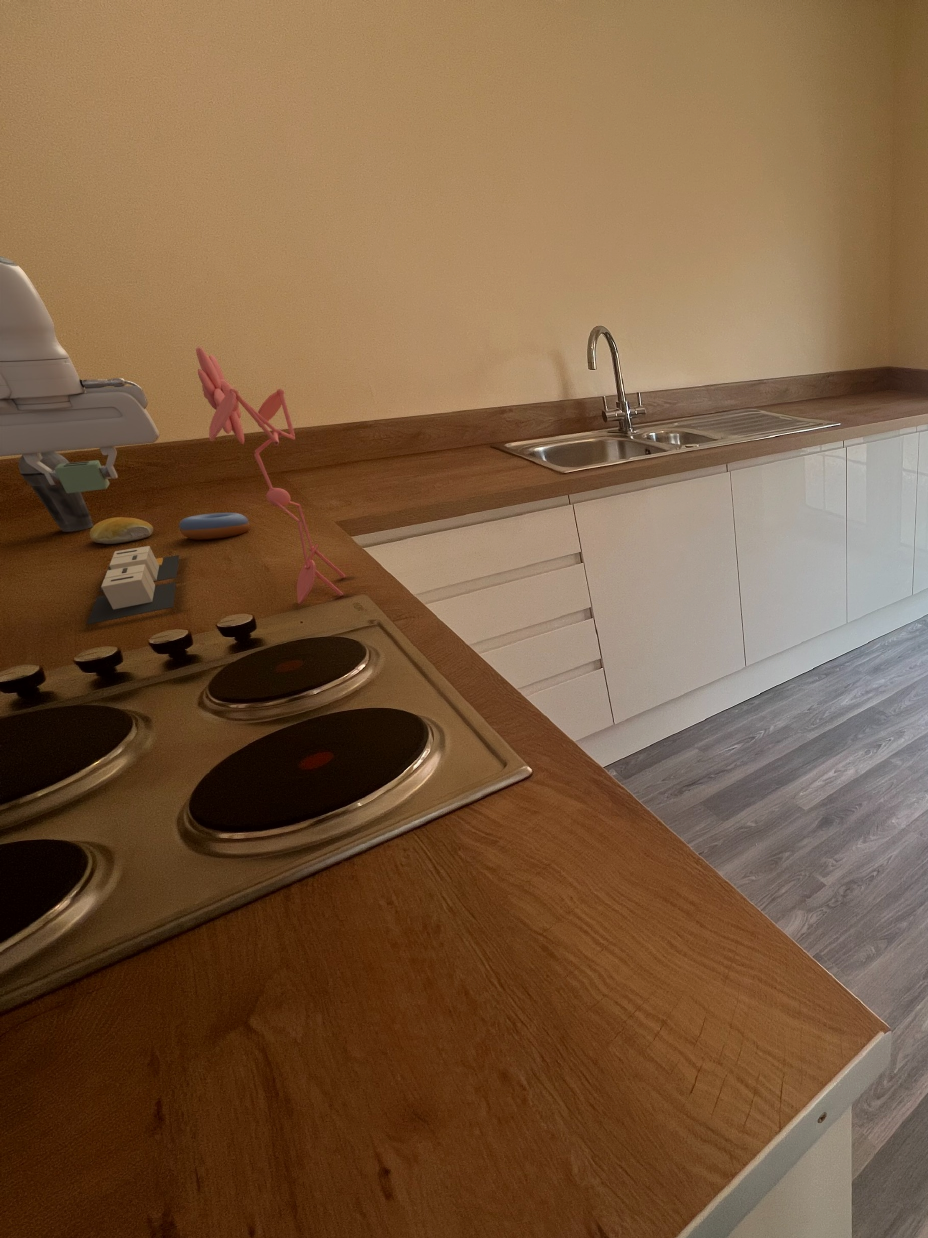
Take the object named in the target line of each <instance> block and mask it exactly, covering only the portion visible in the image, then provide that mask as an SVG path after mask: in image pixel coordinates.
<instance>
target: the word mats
mask: <svg viewBox="0 0 928 1238" xmlns="http://www.w3.org/2000/svg"><path fill="white" fill-rule="evenodd" d="M179 560H180V554H176V555H171V556H165V557H158V558H157V557H156V561H157V563H158V565H159V570H158V575H157V580H156V581H153V582H154V583H156V582H161V581H166V580H172V579H177V576H178V569H179V562H180V561H179ZM108 570H112V569H111V568H110V566H108V567H107V571H108ZM107 571H106V572H107ZM103 578H104V579H105V577H103ZM104 579H103V580H104ZM176 584H177V581H174V582H167V583H163V584H157V585H155V589H154V595H153V600H152V602H150V603H144V604H139V605H134V606H129V607H124V608H119V609H113V608H112V606H111V604H110V602H109V600H108V599H107V597H106V595H105V594H104V595H98V596H97V597H96V598H95V601H94V604H93V606H92V609H91V612H90V614H89V617H88V619H87V622H86V624H85V625H91V624H97V623H101V622H108V621H111V620H117V619H122V618H126V617H132V616H138V615H142V614H146V613H147V614H148V613H152V612H156V611H162V610H165V609H166V610H167V609H171V608H174V601H175V594H176V587H177V586H176ZM98 592H99V593H100V592H101V593H102V592H104V591H103V589H102V587H101V586H100V589H99V591H98Z"/></svg>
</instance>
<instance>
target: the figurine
mask: <svg viewBox="0 0 928 1238" xmlns="http://www.w3.org/2000/svg"><path fill="white" fill-rule="evenodd" d="M195 351H196V356H197V360H198V364H199V366H200V368H197V375H198V379H199V381H200V382H201V388H202V390H201V391H202V392H203V397H204V398H205V399H206V400H207V402H208V404H209V405H210V406H211V408H212V409H214V410H215V411H214V413H213V416H212V418H211V421H210V425H209V430H208V440H209V441H211V442H213V441H214V440H215V439H216V438H217V436H218V435H219V433H220V432H221V430H223V431H224V433H226V434H227V435H229V434H231V432H232V433H233V434H234V436H235V437H236V439H237V440H238V442H239V443H240V444H241V445H245V440H246V439H245V435H244V433H245V432H244V428H243V426H242V422H241V420H240V418H241V417H242V412H241V409H240V405H241V406H242V407H243V408H244V410H245V411H246V412H247V413H248V414H249V415H250V417H251V418H252V419H253V420H254V421H255V422H256V423H257V425H258V427H259V428H261V430H262V431H263V432H264V433H265V434H266V436H267V437H268V439H267V440H266V441H265V442H263V443H261V445H260V446H258V447H257V448H256V449H255V450H254V453H253V457H254V458H255V460H256V462H257V464H258V467H259V468H260V471H261V473H262V475H263V477H264V480H265V482H266V484H267V486H268V488H269V489H268V491H267V492H266V496H265V497H266V500H267V502H268V503H269V504H271V505H272V506H274V507H277V508H280V509H282V510H283V511H284V512H285V513H287V514H288V515H289V516H290V517H291V518H292V519H294V520H295V521H296V522H297V525H298V531H299V537H300V542H301V548H302V551H303V552H302V554H303V558H304V564H303V566H302V568H301V569H300V572H299V574H298V576H297V577H298V578H297V581H296V598H297V603H298V604H303V603H304V602H305V600H306V599H307V598H308V595H309V594H310V593H311V591H312V588H313V587H314V584H315V579H316V576H317V577H318V578H319V580H321V581H322V582H323V583H324V584H326V586H328V587H329V589H331V590H332V591H334V592H335V593H336V594H337V595H338V596H339V597H342V596H343V595H344V593H343V592H342V591H341V590H340V589H339V588H337V587H336V586H335V585H334V584H333V583H332V582H331V581H330V580H328V579H327V578H326V577H325V576H324V575H323V574H321V572H319V571H318V570H317V567H316V566H317V564H316V563H315V561H314V560H313V559H314V558H315V555H316V556H317V557H319V558H320V559H321V560H322V561H323V562H324V563H325V564H327V566H329V567H330V569H332V570H333V571H334V572H336V573H337V574H338V576H340V578H342V579H344V578H346V577H347V575H346V574H344V572H343V571H341V570H340V569H339V568H338V567H337V566H336V565H334V564H333V562H331V561H330V560H329V559H328V558H326V556H325V555H324V554H322V553H321V551H319V550H318V548H319V544H318V543H315V545H313V543H312V540H311V536H310V532H309V529H308V525H307V523H306V520H305V516H304V512H303V509H302V506H301V504H300V503H297V502H295V501H291V500H292V499H291V495H290V493H289V492H288V491H287V490H285V489H283V488H281V487H273V485H272V482H271V480H270V478H269V475H268V472H267V470H266V468H265V465H264V463H263V460H262V458H261V454H260V453H261V452H262V451H264V449H266V448H267V447H268V446H269V445H270V444H271V443H273V444H274V445H275V446H279V444H280V441H279V438H282V437H285V438H288V439H289V440H293V441H294V440H296V434H295V430H294V427H293V423H292V420H291V417H290V412H289V409H288V405H287V402H286V399H285V391H284V390H283V388H282V389H281V388H278V389H276V391H275V392H273V393H272V394H270V395H269V396H268V397H267V398H266V399H265V401H264V402H263V403H262V404H261V406H260V407H259V409H258V411H257V410H255V409H254V408H253V407H252V406H251V404H249V403H248V402H247V401H245V400H244V399H243V398H242V397H241V395H240V394H239V390H237V389H236V388H233V387H232V385H231V384H230V383H229V382H228V381H227V380H226V379H225V376H224V373H223V371H222V368H221V366H220V364H219V363H220V362H219V361H218V359H217V358H216V357H215V355H213V354H210V355H208V354H207V353H206V352H205V350H204V349H203V347H200V346H197V347H196V348H195ZM239 404H240V405H239ZM280 408H282V411H283V414H284V417H285V421H286V424H287V428H288V433H287V432H285V431H283V430H281V429H279V428H276V427H275V426H273V424H272V423H270V420H271V419H272V418H274V416H275V415H276V414H277V413H278V411H279V410H280ZM267 427H268V428H269V429H270V430H271V431H272V432H271V431H270V430H269V429H268V428H267ZM289 504H290V505H293V506H296V507H297V509H298V512H299V515H300V519H301V520H300V519H299V518H298V517H297V516H295V514H293V513H292V512H290V511H289V510H288V509H287V508H286V507H285V506H287V505H289ZM303 528H304V529H303ZM304 532H305V535H306V538H307V541H308V544H309V547H310V548H309V549H308V551H309V552H310V554H309V556H308V553H307V547H306V542H305V537H304ZM351 565H353V563H346V564H340V566H351Z"/></svg>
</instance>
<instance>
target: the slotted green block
mask: <svg viewBox="0 0 928 1238" xmlns="http://www.w3.org/2000/svg"><path fill="white" fill-rule="evenodd" d="M100 466H102V464H101V463H100V460H99V459H97V460H96V459H95V460H85V461H75V462H69V463H64V464H59V465H58V466H57V467H56V468H55V469H54V470H55V472H56V473H57V475H58V477H59V479H60V481H61V483H62V485H63V487H64V489H65V491H66V493H76V492H81V493H84V492H92V491H101V490H107V489H108V488H109V486H110V481H109V479H104V478H103V477H102V474H101V472H100V470H99V467H100Z"/></svg>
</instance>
